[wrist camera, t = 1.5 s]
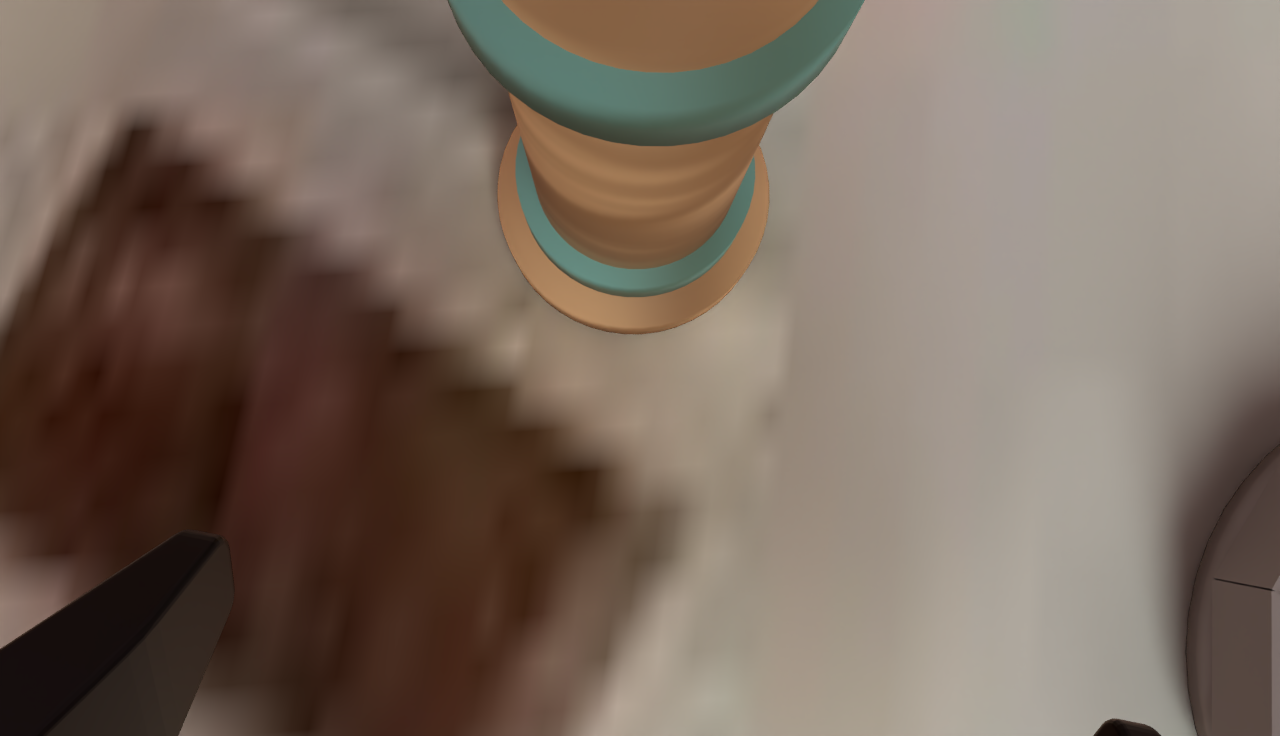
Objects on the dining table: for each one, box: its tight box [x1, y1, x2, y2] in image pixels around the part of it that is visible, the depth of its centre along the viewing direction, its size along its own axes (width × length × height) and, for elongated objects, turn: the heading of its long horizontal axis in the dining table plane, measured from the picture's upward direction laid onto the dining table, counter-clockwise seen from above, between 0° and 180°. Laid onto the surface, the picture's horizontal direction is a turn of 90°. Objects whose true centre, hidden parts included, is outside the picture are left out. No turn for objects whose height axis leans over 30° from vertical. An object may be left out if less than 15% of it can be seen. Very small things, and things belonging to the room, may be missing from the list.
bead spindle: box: [448, 0, 864, 334], centre depth 17 cm, size 6×6×14 cm
